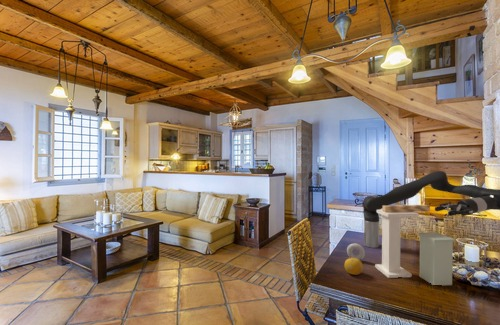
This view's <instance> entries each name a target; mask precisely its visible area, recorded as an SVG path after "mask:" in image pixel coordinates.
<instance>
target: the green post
mask: <svg viewBox="0 0 500 325" xmlns="http://www.w3.org/2000/svg"><path fill="white" fill-rule="evenodd" d="M417 235H418V236H419V277H420V278H421V279H423V280H425V281H426V282H428V283H429V284H430V283H431V284H430V285H432V286H433V285H442V286H452V285H453V256H454V255H453V253H454V252H453V250H454V242H455V241H456V239H455V238H452V237H449V236H447V235H444V234H442V233H440V232H418V234H417Z"/></svg>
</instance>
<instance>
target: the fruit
mask: <svg viewBox="0 0 500 325" xmlns="http://www.w3.org/2000/svg"><path fill="white" fill-rule="evenodd" d="M363 265H364V264H363V262H362V261H361V260H359V259H357V258H350V257H349V258H346V259H345V261H344V269H345V271H346V272H347V273H348V274H350V275H352V276H357V275H360V274H361V273H362V271H363V268H364V266H363Z"/></svg>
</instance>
